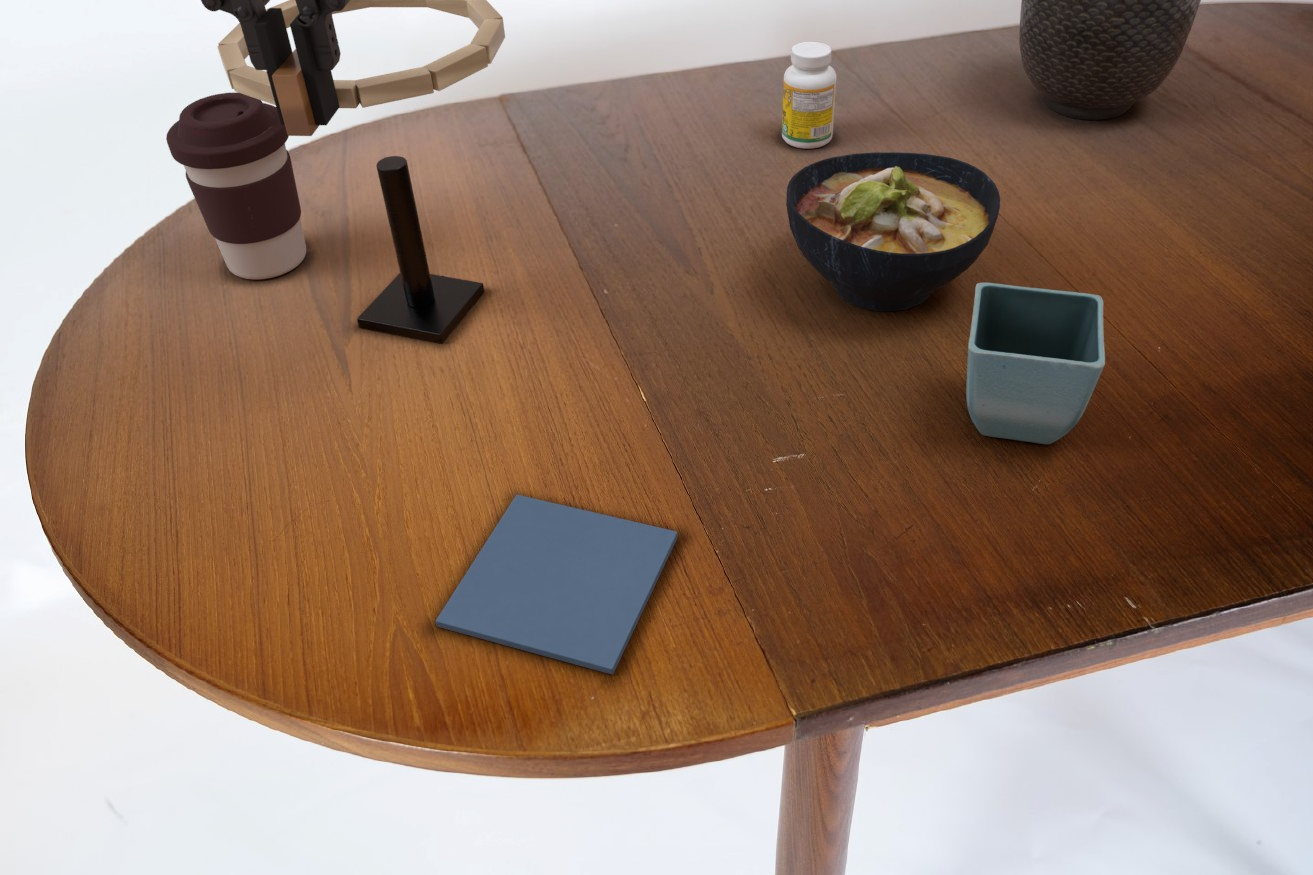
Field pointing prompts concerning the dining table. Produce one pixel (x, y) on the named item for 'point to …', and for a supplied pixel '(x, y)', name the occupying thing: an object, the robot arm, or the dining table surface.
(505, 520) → the mat
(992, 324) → the flower pot
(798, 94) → the supplement bottle
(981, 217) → the bowl
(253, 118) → the coffee cup
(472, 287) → the post on square base
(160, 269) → the dining table surface
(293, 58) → the segmented ring with tab
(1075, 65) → the planter
